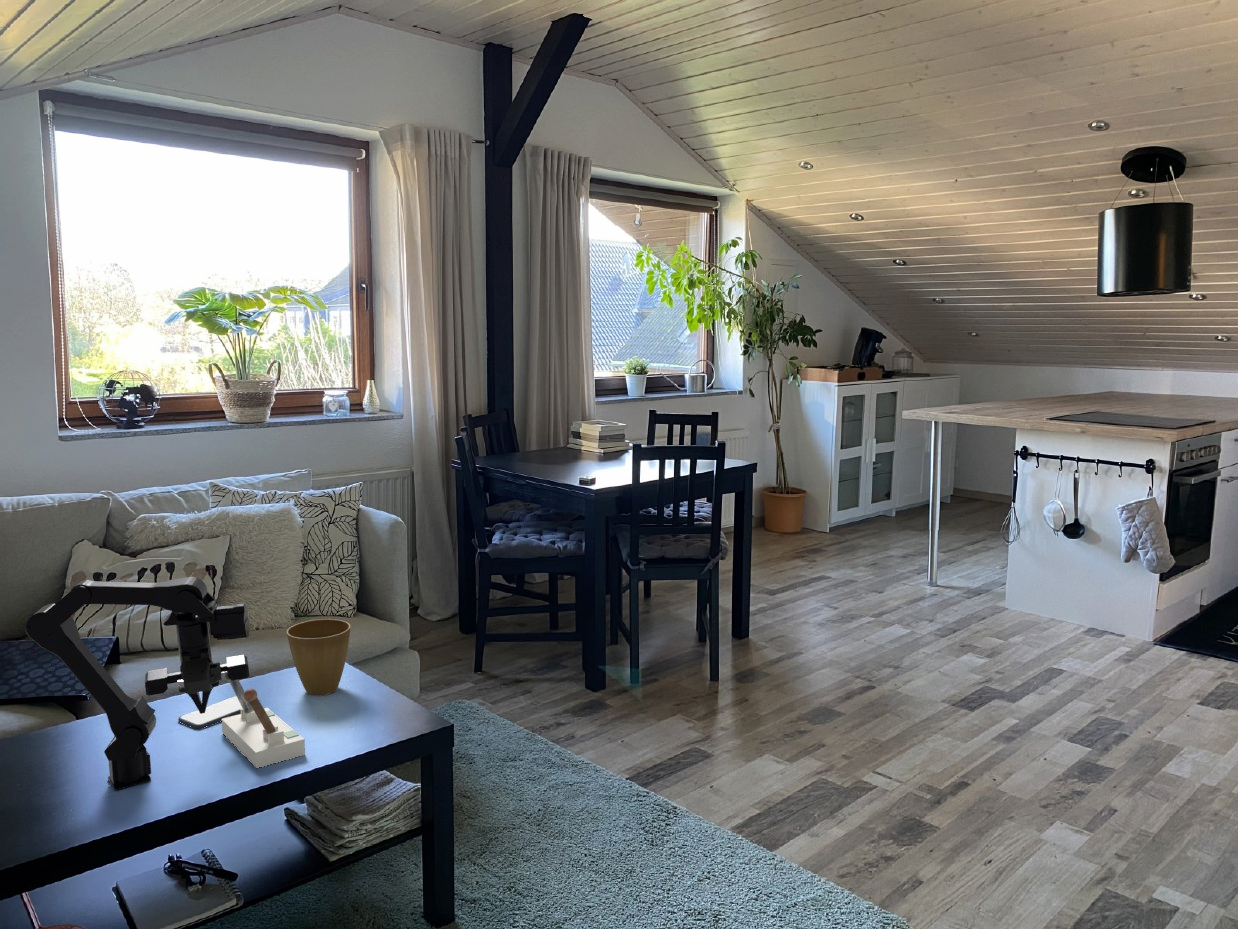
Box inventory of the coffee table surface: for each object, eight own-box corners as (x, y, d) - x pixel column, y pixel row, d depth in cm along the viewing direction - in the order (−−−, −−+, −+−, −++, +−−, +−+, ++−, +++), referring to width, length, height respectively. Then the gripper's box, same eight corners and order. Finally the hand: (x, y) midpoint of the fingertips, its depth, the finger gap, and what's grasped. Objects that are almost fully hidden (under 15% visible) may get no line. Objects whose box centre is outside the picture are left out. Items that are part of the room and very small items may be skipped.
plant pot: (281, 689, 235) (277, 626, 232) (339, 675, 244) (336, 615, 242) (302, 707, 223) (299, 641, 221) (362, 692, 232) (360, 629, 230)
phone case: (198, 733, 210) (261, 708, 223) (198, 726, 210) (261, 702, 223) (176, 724, 215) (238, 700, 228) (175, 717, 215) (238, 694, 228)
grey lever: (246, 719, 206) (224, 674, 202) (242, 715, 208) (220, 671, 204) (257, 712, 207) (236, 668, 203) (253, 708, 209) (232, 665, 205)
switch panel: (256, 769, 191) (255, 743, 190) (222, 734, 208) (220, 710, 207) (305, 755, 197) (304, 730, 197) (268, 722, 214) (266, 699, 213)
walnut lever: (269, 740, 195) (243, 695, 191) (265, 736, 197) (239, 692, 193) (280, 732, 196) (255, 688, 192) (276, 728, 198) (251, 684, 194)
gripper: (139, 668, 175) (150, 743, 180) (247, 650, 183) (255, 722, 187) (141, 643, 185) (151, 715, 189) (243, 627, 193) (251, 696, 197)
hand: (202, 712), depth 190 cm, fingers closed
